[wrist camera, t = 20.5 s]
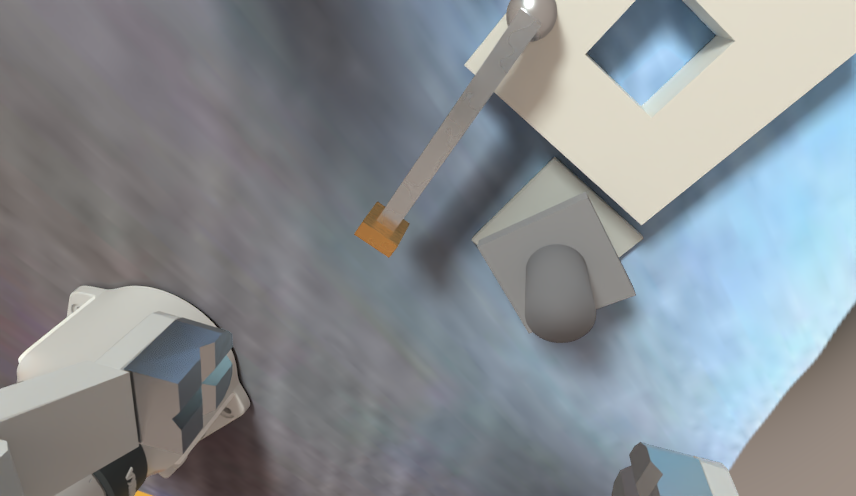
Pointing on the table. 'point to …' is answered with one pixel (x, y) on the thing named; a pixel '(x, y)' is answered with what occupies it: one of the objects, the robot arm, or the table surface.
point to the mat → (554, 189)
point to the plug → (558, 269)
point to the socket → (671, 90)
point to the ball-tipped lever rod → (458, 121)
